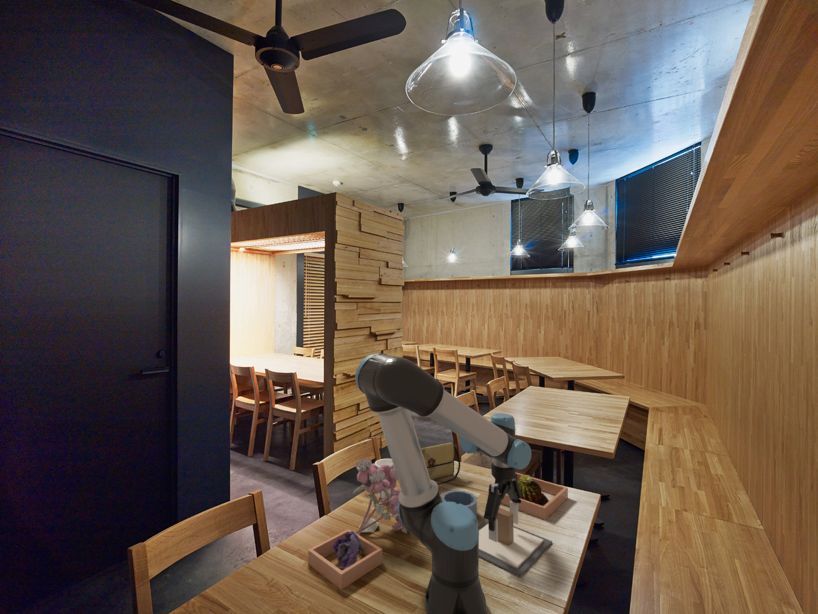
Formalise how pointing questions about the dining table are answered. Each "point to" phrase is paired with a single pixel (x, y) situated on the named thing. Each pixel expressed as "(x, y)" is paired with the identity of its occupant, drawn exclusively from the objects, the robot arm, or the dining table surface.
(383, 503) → the flower
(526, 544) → the board
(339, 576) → the flower tray
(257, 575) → the dining table surface
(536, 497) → the cactus
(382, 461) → the foam cup
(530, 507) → the cactus tray
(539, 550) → the rubber mat
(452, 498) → the bowl
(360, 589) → the dining table surface
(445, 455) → the clutch purse
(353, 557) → the flower
